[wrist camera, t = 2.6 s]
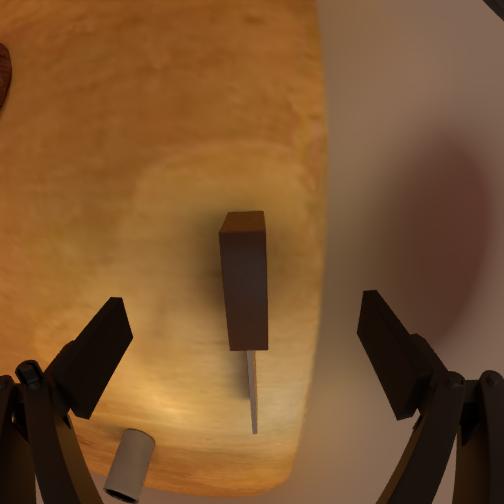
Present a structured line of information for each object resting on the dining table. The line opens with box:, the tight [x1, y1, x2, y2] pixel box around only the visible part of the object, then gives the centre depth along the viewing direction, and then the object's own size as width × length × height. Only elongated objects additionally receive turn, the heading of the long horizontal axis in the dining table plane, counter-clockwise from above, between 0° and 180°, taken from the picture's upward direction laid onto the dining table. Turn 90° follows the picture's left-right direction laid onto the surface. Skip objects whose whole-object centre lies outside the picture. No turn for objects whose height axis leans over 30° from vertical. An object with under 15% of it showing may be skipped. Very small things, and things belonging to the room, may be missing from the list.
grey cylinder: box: [103, 429, 155, 504], centre depth 26 cm, size 4×4×10 cm
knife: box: [219, 211, 268, 434], centre depth 21 cm, size 19×2×5 cm, turn 2°
